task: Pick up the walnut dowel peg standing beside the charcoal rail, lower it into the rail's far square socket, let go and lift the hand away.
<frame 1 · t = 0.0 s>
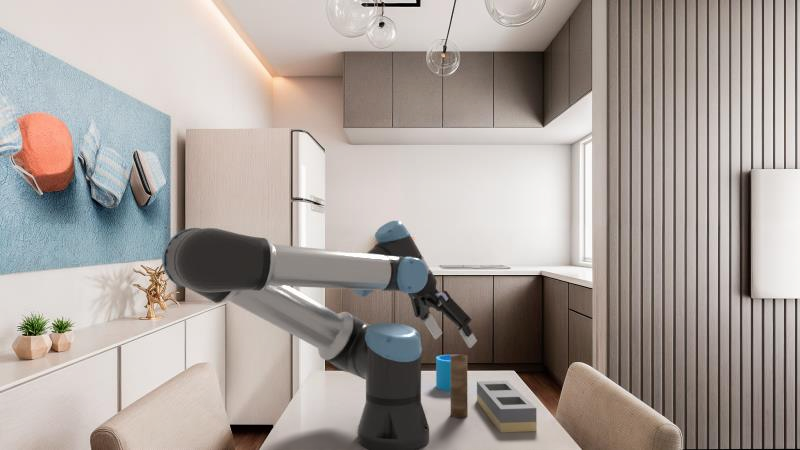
hand: (455, 340, 139), 15 cm above the table, tool tilted 35°, fingers open, 13 cm apart
peg: (459, 415, 126), on the table
rail: (504, 414, 126), on the table
mug: (449, 385, 152), on the table
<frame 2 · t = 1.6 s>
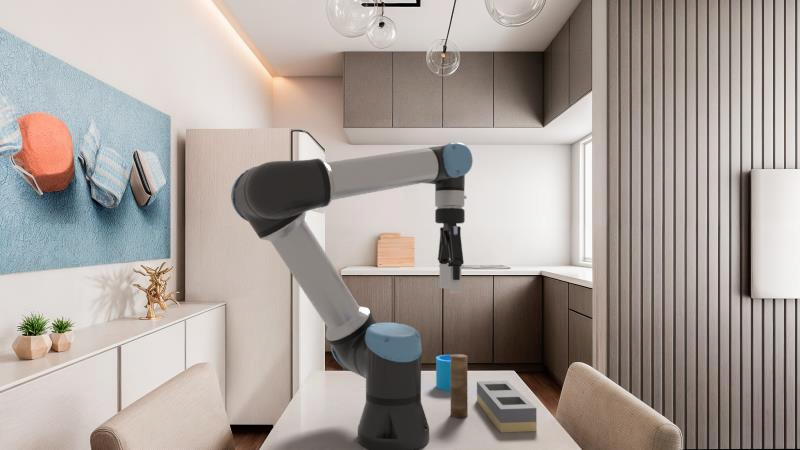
hand: (449, 290, 136), 29 cm above the table, tool pointing down, fingers open, 13 cm apart
nothing on the table moved.
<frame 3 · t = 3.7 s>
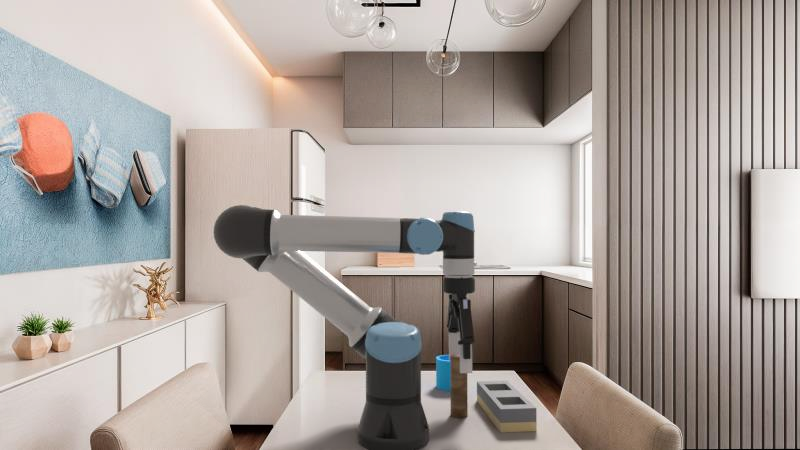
hand: (460, 365, 126), 12 cm above the table, tool pointing down, fingers open, 13 cm apart
nothing on the table moved.
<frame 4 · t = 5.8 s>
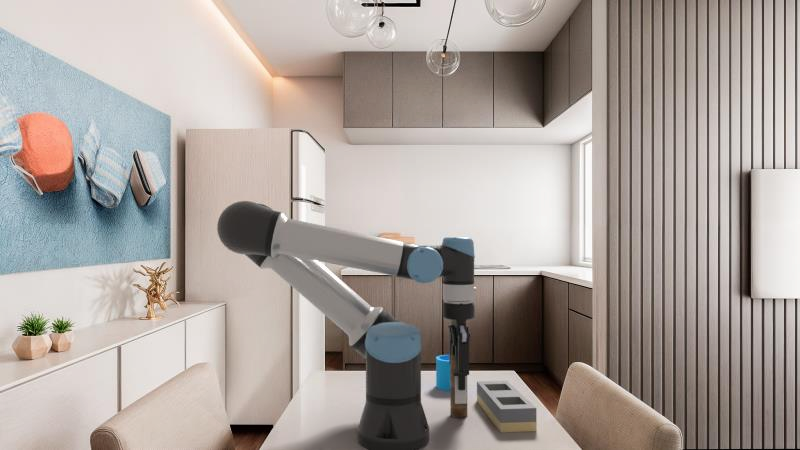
hand: (458, 399, 126), 4 cm above the table, tool pointing down, fingers closed on peg, 4 cm apart
peg: (458, 415, 126), on the table, touching gripper
everything else where it was.
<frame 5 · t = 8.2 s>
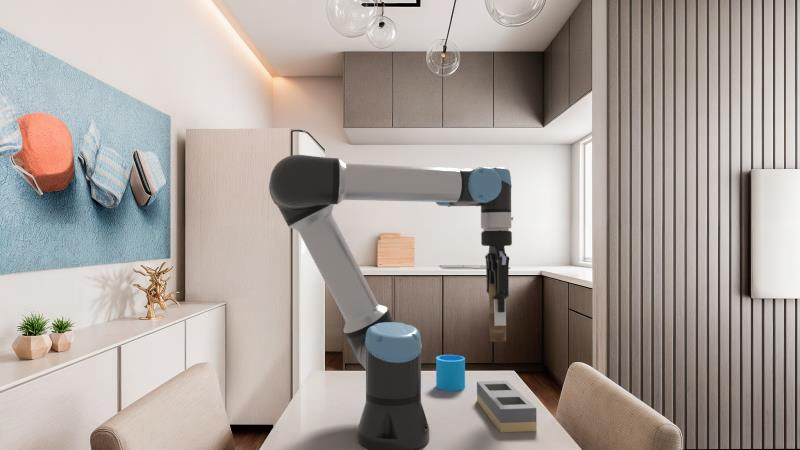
hand: (497, 323, 132), 21 cm above the table, tool pointing down, fingers closed on peg, 4 cm apart
peg: (497, 340, 132), point 17 cm above the table, touching gripper
everything else where it was.
when the fingers open (8 cm above the table, at t = 11.1 s): peg stays where it is, resting on rail.
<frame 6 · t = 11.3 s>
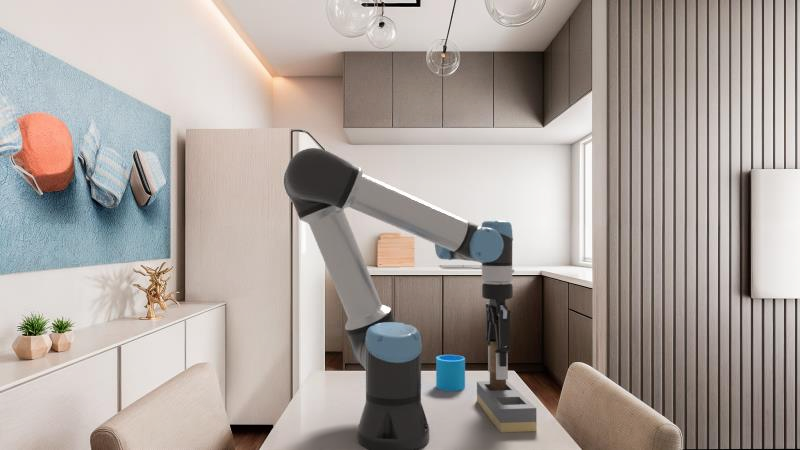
hand: (497, 375, 132), 8 cm above the table, tool pointing down, fingers open, 7 cm apart
peg: (497, 399, 132), point 2 cm above the table, touching rail
everything else where it was.
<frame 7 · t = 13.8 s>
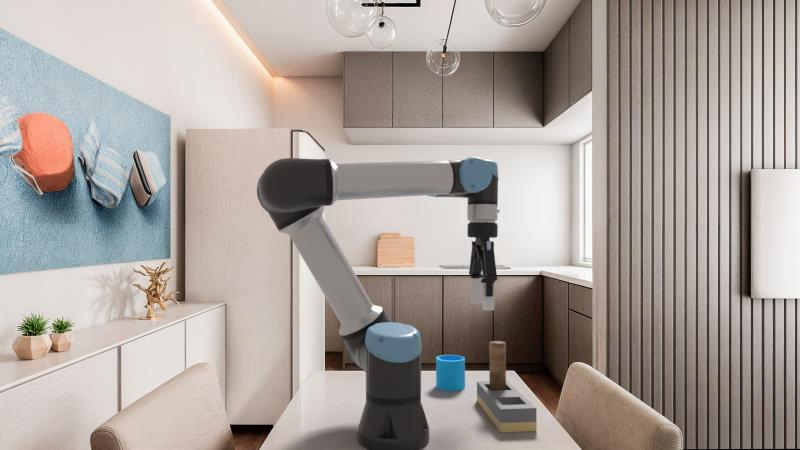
hand: (481, 306, 133), 25 cm above the table, tool pointing down, fingers open, 13 cm apart
nothing on the table moved.
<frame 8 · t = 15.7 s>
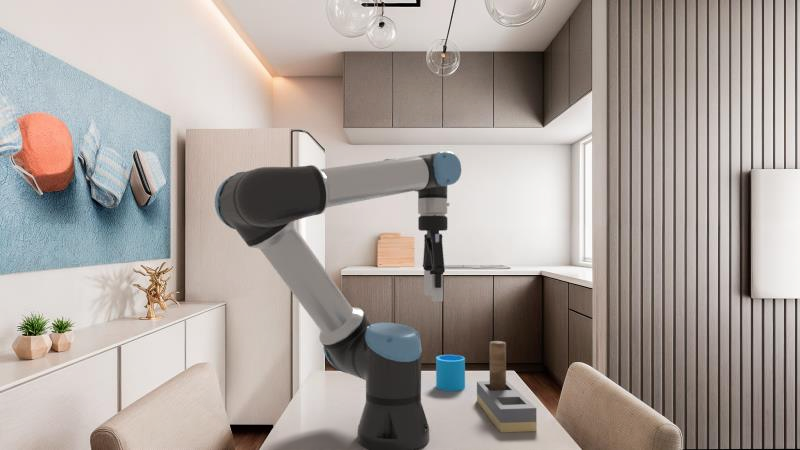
hand: (433, 298, 136), 27 cm above the table, tool pointing down, fingers open, 13 cm apart
nothing on the table moved.
at the end: peg 0.1 cm from the target spot on the rail, point 2.0 cm above the rail's base; peg tilted 0°; the gripper is holding nothing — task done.
